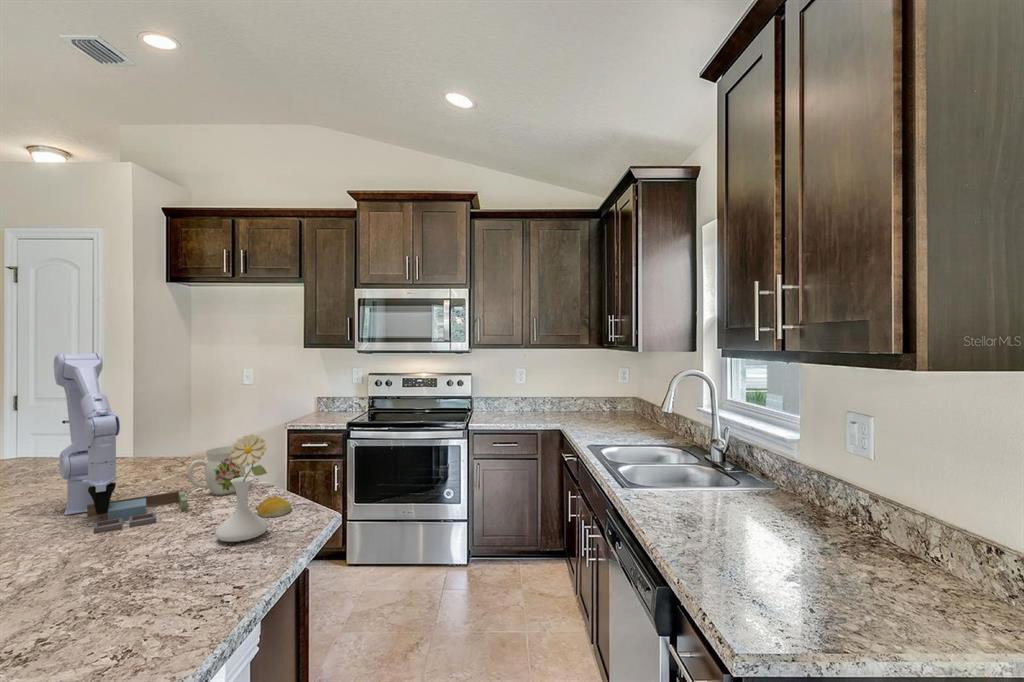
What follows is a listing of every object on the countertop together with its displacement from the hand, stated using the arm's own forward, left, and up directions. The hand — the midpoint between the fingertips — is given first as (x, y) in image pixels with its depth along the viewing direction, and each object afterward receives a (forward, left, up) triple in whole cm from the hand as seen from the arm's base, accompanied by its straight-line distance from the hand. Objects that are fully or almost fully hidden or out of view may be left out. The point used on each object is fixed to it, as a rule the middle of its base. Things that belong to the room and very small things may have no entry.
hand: (102, 513), depth 134 cm
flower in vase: (+36, +28, -2) cm, 46 cm away
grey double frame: (+9, +5, -2) cm, 10 cm away
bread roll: (+21, +37, -2) cm, 43 cm away
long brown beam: (0, +8, -2) cm, 8 cm away
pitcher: (-9, +29, -2) cm, 30 cm away
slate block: (+1, +5, -2) cm, 6 cm away
